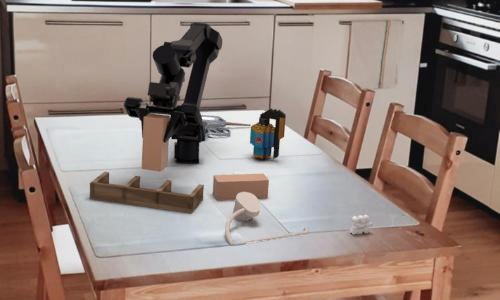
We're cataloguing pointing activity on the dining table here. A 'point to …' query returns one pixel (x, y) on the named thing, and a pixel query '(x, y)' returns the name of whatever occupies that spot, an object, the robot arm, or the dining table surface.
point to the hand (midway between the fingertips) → (153, 140)
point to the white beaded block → (360, 224)
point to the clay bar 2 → (240, 185)
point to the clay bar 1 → (155, 142)
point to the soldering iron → (217, 125)
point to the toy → (267, 134)
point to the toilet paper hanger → (249, 215)
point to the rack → (145, 194)
